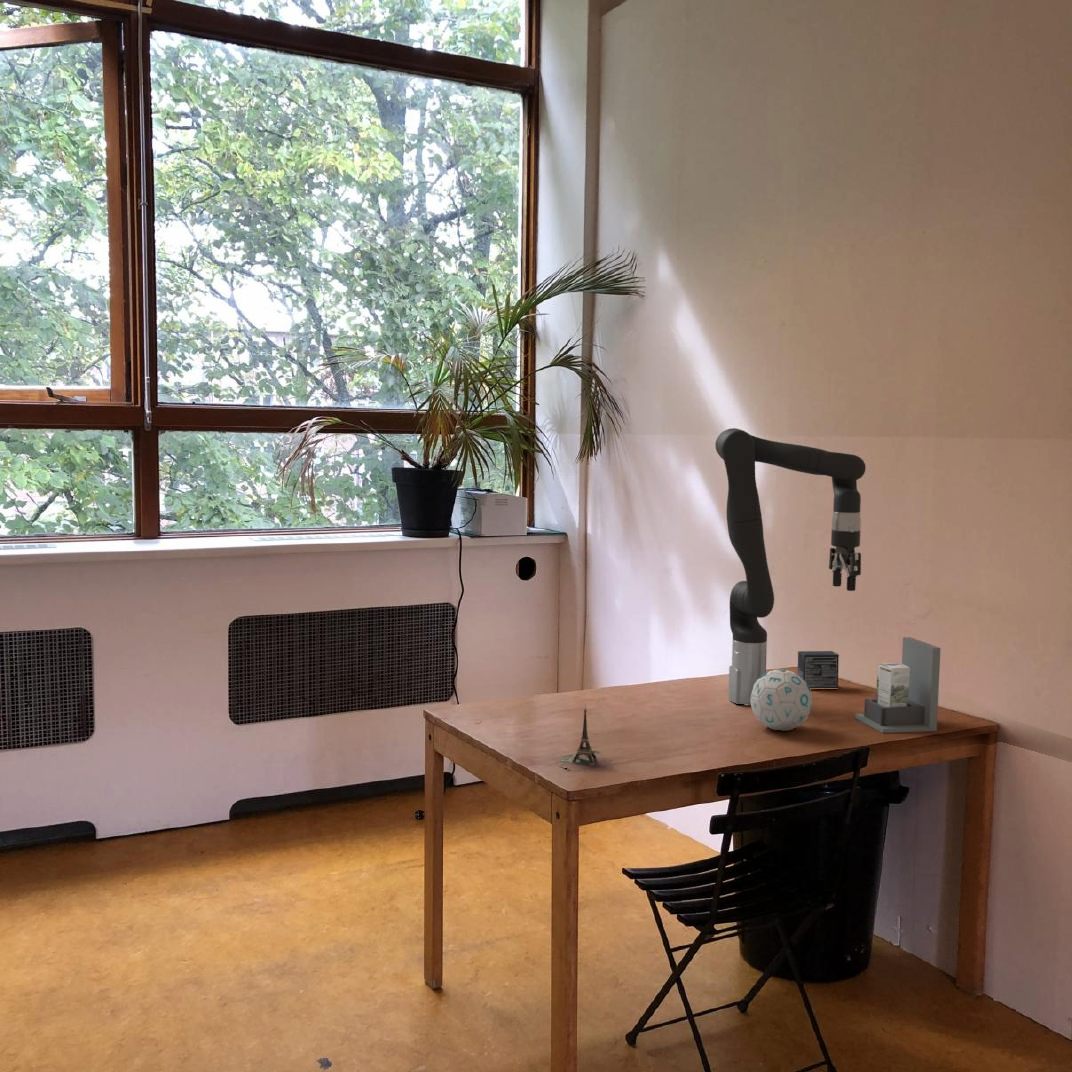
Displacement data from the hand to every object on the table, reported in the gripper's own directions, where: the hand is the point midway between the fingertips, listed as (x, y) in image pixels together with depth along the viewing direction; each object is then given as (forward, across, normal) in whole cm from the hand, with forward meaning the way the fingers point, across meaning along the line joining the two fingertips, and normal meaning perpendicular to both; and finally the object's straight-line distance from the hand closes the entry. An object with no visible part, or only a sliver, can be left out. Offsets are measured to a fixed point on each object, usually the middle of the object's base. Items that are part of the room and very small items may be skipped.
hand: (843, 588), depth 295 cm
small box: (+32, -21, +3) cm, 39 cm away
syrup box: (+31, +21, +4) cm, 38 cm away
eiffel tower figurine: (+33, +42, -80) cm, 96 cm away
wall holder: (+32, +21, +5) cm, 39 cm away
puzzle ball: (+32, +22, -26) cm, 47 cm away
